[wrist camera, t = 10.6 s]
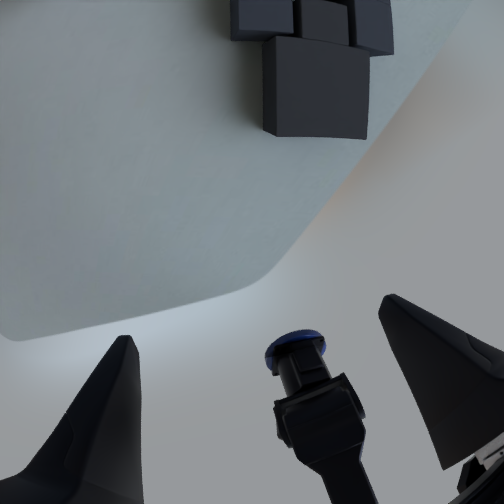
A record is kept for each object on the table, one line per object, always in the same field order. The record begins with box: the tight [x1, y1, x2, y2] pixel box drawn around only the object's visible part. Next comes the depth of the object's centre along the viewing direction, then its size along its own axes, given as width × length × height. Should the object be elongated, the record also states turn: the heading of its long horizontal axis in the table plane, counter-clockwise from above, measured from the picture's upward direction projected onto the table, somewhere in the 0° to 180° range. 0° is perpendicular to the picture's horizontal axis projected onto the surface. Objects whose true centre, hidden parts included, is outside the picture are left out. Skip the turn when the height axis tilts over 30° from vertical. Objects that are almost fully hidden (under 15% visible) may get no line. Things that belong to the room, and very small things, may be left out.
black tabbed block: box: [262, 0, 370, 140], centre depth 13 cm, size 6×9×3 cm, turn 1°
